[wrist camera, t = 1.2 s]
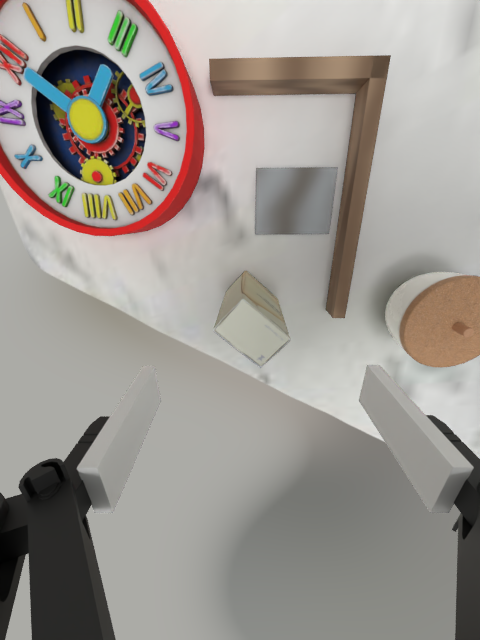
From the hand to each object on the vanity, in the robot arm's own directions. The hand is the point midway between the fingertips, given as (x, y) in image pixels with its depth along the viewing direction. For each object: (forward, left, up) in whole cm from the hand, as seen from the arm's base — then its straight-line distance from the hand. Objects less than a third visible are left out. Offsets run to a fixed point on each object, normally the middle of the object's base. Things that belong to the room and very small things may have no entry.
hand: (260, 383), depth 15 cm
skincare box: (0, 0, -20) cm, 20 cm away
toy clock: (+15, -18, -20) cm, 31 cm away
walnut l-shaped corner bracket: (-4, -10, -19) cm, 22 cm away
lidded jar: (-22, +1, -20) cm, 29 cm away
